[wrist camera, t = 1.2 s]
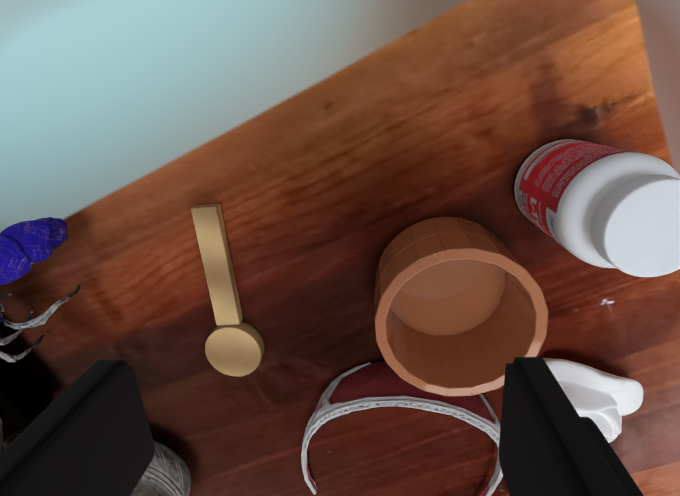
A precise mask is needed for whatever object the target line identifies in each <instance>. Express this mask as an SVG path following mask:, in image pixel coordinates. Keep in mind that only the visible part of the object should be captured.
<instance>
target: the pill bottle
mask: <svg viewBox="0 0 680 496" xmlns="http://www.w3.org/2000/svg"><path fill="white" fill-rule="evenodd" d="M514 193H515V199H516V202H517V205H518V207H519V209H520V210H521V212H522V213H523V214H524V215H525V216H526V217H527V218H528V219H529V220H530V221H531V222H532V223H534V224H535V225H536V226H537V227H539V228H540V229H541V230H542V231H544V232H545V233H546V234H548V235H549V236H550V237H551V238H553V239H554V240H555V241H557V242H558V243H559V244H560V245H562V246H563V247H564V248H566V249H567V250H568V251H569V252H570V253H572V254H573V255H575V256H576V257H578V258H579V259H581V260H583V261H584V262H587V263H589V264H591V265H594V266H599V267H604V268H618V269H619V270H621V271H623V272H625V273H627V274H630V275H633V276H639V277H656V276H662V275H665V274H669V273H671V272H674V271H676V270H678V269H680V175H679V174H678V173H677V172H676V171H675V170H674V169H673V168H672V167H671V166H670V165H669V164H667V163H666V162H664V161H662V160H661V159H659V158H656V157H653V156H650V155H647V154H643V153H639V152H633V151H629V150H624V149H619V148H614V147H609V146H604V145H600V144H595V143H590V142H585V141H580V140H573V139H565V140H558V141H554V142H551V143H548V144H546V145H544V146H542V147H540V148H539V149H537V150H536V151H534V152H533V153H532V154H531V155H530V156H529V157H528V158H527V159H526V160H525V162H524V163H523V164H522V166H521V168H520V169H519V171H518V174H517V177H516V180H515V186H514Z"/></svg>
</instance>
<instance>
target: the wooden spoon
mask: <svg viewBox="0 0 680 496" xmlns="http://www.w3.org/2000/svg"><path fill="white" fill-rule="evenodd" d="M191 212H192V217H193V221H194V226H195V230H196V235H197V239H198V244H199V248H200V253H201V257H202V262H203V266H204V271H205V275H206V280H207V284H208V289H209V293H210V298H211V302H212V306H213V311H214V315H215V320H216V324H217V325H218V326H217V327H216V328H215V329H214V330H213V332H212V333H211V334H210V336H209V337H208V339H207V341H206V344H205V352H206V356H207V359H208V360H209V362H210V363H211V365H212V366H213V367H214V368H215V369H217V370H218V371H220V372H221V373H223V374H226V375H229V376H244V375H247V374H250V373H251V372H253V371H254V370H255V369H256V368H257V367H258V365H259V363H260V361H261V359H262V357H263V354H264V342H263V339H262V337H261V335H260V334H259V332H258V331H257V330H256V329H255V328H254V327H252V326H251V325H249V324H247V323H244V322H241V321H242V320H243V316H242V311H241V306H240V301H239V296H238V290H237V285H236V280H235V275H234V270H233V265H232V260H231V255H230V250H229V245H228V240H227V235H226V230H225V225H224V220H223V215H222V210H221V204H220V203H218V204H205V205H196V206H194V207H192V208H191Z"/></svg>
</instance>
